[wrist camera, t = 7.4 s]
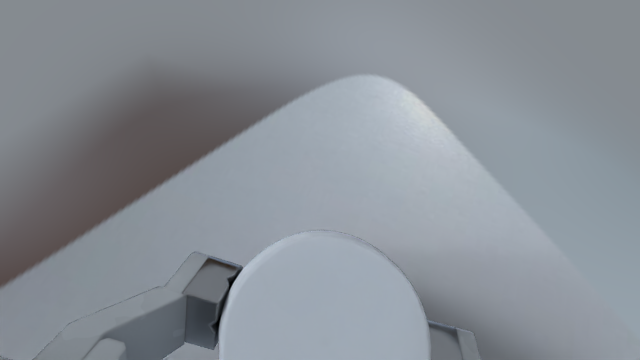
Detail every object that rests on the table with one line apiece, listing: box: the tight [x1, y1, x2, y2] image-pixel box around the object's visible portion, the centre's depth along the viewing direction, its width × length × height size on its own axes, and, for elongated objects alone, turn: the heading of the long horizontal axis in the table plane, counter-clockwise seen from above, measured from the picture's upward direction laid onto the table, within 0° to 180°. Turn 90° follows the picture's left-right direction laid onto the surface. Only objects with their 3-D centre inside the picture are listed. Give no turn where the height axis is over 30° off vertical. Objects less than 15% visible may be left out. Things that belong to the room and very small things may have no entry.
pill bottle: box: [219, 230, 431, 360], centre depth 11 cm, size 5×5×9 cm
